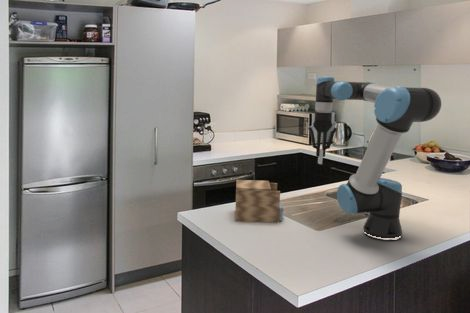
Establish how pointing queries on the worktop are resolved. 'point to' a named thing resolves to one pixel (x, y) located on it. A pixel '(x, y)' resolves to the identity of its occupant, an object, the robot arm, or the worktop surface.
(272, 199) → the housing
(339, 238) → the worktop surface
